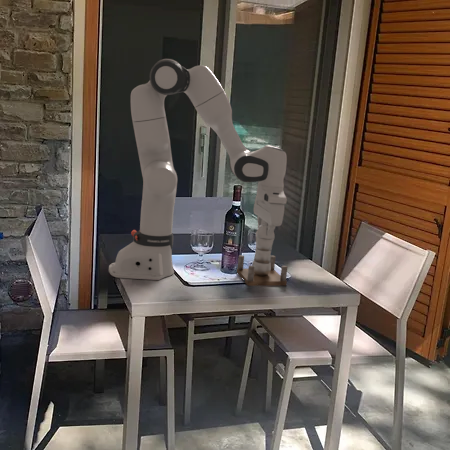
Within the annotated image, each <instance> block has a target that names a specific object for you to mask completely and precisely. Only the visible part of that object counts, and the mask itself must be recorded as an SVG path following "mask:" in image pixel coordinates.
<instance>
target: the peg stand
mask: <svg viewBox="0 0 450 450" xmlns="http://www.w3.org/2000/svg"><path fill="white" fill-rule="evenodd" d="M244 262H245V255H242V254H239V255H238V259H237V268H236V271H237V273H238V274H237V273H236V274H237V275H238V276H239V277H240V278H241V279H242V278H243V279H244V280H245V282H244V283H245V284H246V285H247V286H249V287H250V286H251V287H253V286H255V287H256V286H257V287H258V286H259V287H260V286H261V287H262V286H271V287H272V286H287V282H288V281H287V276H288V268H289V267H288V266H286V265H281V268H280V269H281V270H280V273H279V272H278V271H276V270H275V267H276V266H275V265H276V264H275V263H276V255H271V262H270V263H271V270H270V273H269V274H268V275H257V274H255V273H254V268H255V267H254V266H252V265H248V268H244ZM243 279H242V280H243Z"/></svg>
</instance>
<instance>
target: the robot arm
mask: <svg viewBox="0 0 450 450" xmlns="http://www.w3.org/2000/svg"><path fill="white" fill-rule="evenodd" d="M179 93H185V94H186V96H187V97H188V98H189V100H190V102H191V103H192V105H193V106H194V108H195V110H196V112H197V114H198V115H199V116H200V118H201V119H202V121H203V122H204V123H205V124H206V125H207V126H208V127H209V128H211V129H212V130H213V131H214V133H216V135H217V136H218V138H219V141H220V142H221V144H222V145H223V147H224V149H225V152H226V153H227V154H228V155H227V156H228V160H229V161H228V162H229V169H230V171H231V173H232V174H233V175H234V176H235V177H236V178H237V179H238V180H239V181H241V182H243V183H257V182H258V183H257V191H256V196H255V199H254V204H253V214H254V215H256V216H257V217H256V218H257V230H258V229H259V228H260V227H261V226H262V225H261V222H262V219H263V220H264V221H265V222H267V223H268V231H267V233H266V235H267V236H268V237H272V236H273V231H275V229H276V227H281V225H282V224H283V221H284V215H285V205H286V204H287V201H288V199H287V196H286V194H285V191H284V187H285V184H284V179H285V176H286V172H287V171H286V170H287V164H288V163H287V157H288V156H287V153H286V151H285V150H284V149H282V148H280V147H278V146H276V145H271V144H265V145H264V146H263V147H261V148H259V149H256V150H254V151H251V150H249V149H248V148H247V147H246V146H245V145H244V143H243V142H242V140H241V138H240V136H239V134H238V132H237V130H236V128H235V125H234V124H233V108H232V106H231V103H230V100H229V98H228V96H227V93H226V91H225V89H224V88H223V86H222V84H221V83H220V82H219V80H218V79H217V77H216V76H215V74H214V73H213V71H211V69H210V68H209V67H207V66H206V65H203V64H201V65H195V66H193V67H191V68H188V69H187V68H186V67H184V66H182V65H181V64H180V63H179V62H178V61H177V60H174V59H173V58H163V59H160V60H158V61H157V62H156V63H155V64H154V65H153V66H152V67H151V69H150V72H149V81H148V82H146V83H143V84H139V85H137V86H136V87H134V88H133V89H132V90H131V93H130V113H131V120H132V126H133V127H132V128H133V131H134V137H135V142H136V147H137V153H138V158H139V163H140V164H139V165H140V170H141V176H142V181H143V183H142V184H143V185H142V198H141V208H140V219H139V220H140V222H139V224H140V225H139V230H138V231H137V230H136V229H133V230H132V231H131V232H130V234H131V236H132V237H133V239H132V240H133V241H132V242H131V243H129V244H128V245H126V246H125V247H123V248H121V249H120V250H118V252H117V255H116V258H115V262H112V263H111V264H109V265H108V273H109V274H110V275H111V276H112V277H113V278H114V277H115V278H119V279H134V280H137V279H138V280H139V279H140V280H150V281H151V280H154V281H160V280H162V279H164V278H168V277H170V276H172V275H174V274H175V268H174V265H173V257H172V256H173V254H172V253H173V252H172V250H173V246H174V233H173V224H174V211H175V203H176V196H177V190H178V189H177V188H178V175H177V174H178V173H177V171H176V170H175V167H174V162H173V155H172V148H171V139H170V133H169V127H168V121H167V116H166V110H165V99H166V97H168V96H170V95H176V94H179Z"/></svg>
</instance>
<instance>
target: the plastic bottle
mask: <svg viewBox="0 0 450 450" xmlns="http://www.w3.org/2000/svg"><path fill="white" fill-rule="evenodd" d="M261 225H262V226H261V227H260V228H259V229H258V228H257V230H256V232H255V252H254V257H253V258H254V259H253V261H252V264H251V266H254V267H255V268H254V273H255V274H257V275H268V274H269V273H270V270H271V263H270V262H271V256H272V254H271V253H272V249H273V244H274V240H275V236H276V235H275V232H274V231H275V230H274V231H273V236H272V237H268V236H267V235H266V233H267V231H268V223H267V222H265V221H264V220H263V219H262V222H261Z"/></svg>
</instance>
